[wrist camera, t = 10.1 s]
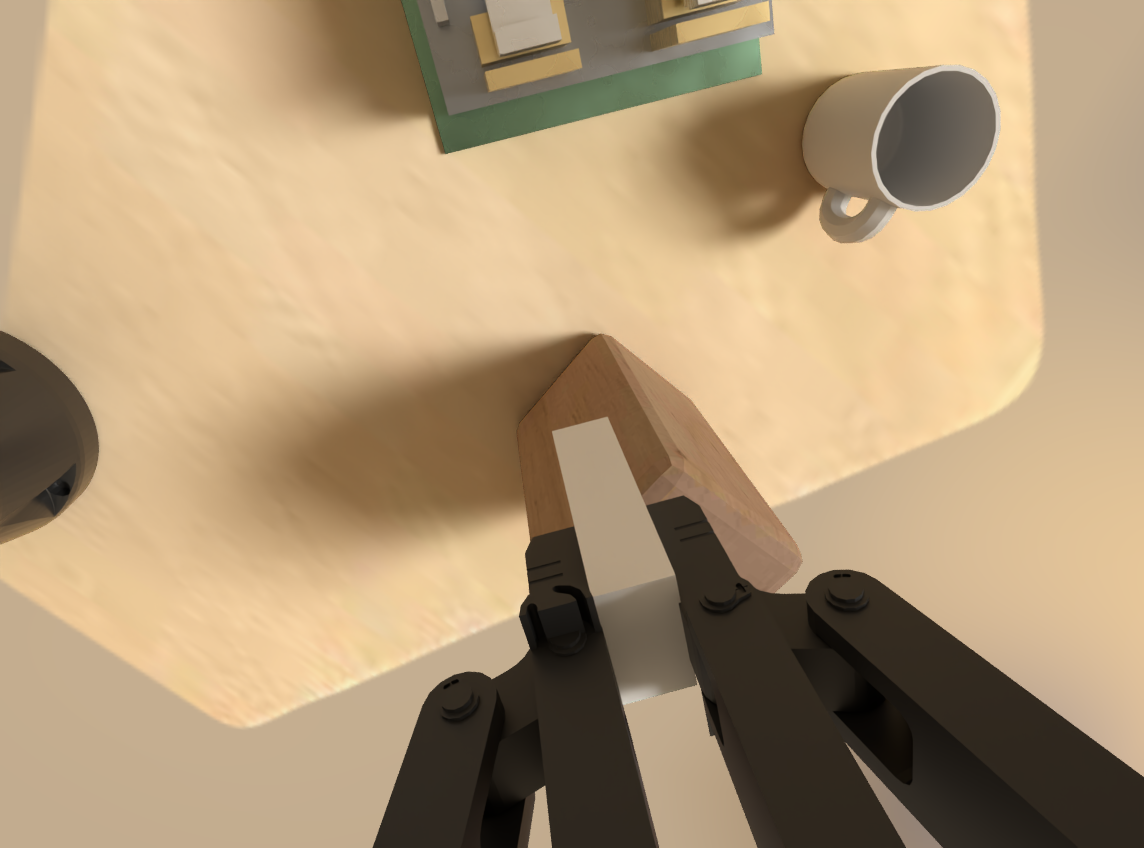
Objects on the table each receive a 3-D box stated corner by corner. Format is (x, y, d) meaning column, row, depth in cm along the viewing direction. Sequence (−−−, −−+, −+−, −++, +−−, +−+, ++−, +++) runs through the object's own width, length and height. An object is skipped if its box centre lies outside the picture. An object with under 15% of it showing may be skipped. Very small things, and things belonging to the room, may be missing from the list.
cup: (925, 99, 43) (1027, 97, 35) (847, 247, 47) (924, 276, 39) (833, 52, 41) (919, 40, 33) (760, 210, 45) (821, 233, 37)
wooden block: (598, 323, 47) (674, 458, 29) (696, 402, 51) (818, 565, 33) (510, 427, 49) (530, 609, 32) (610, 495, 53) (678, 693, 35)
